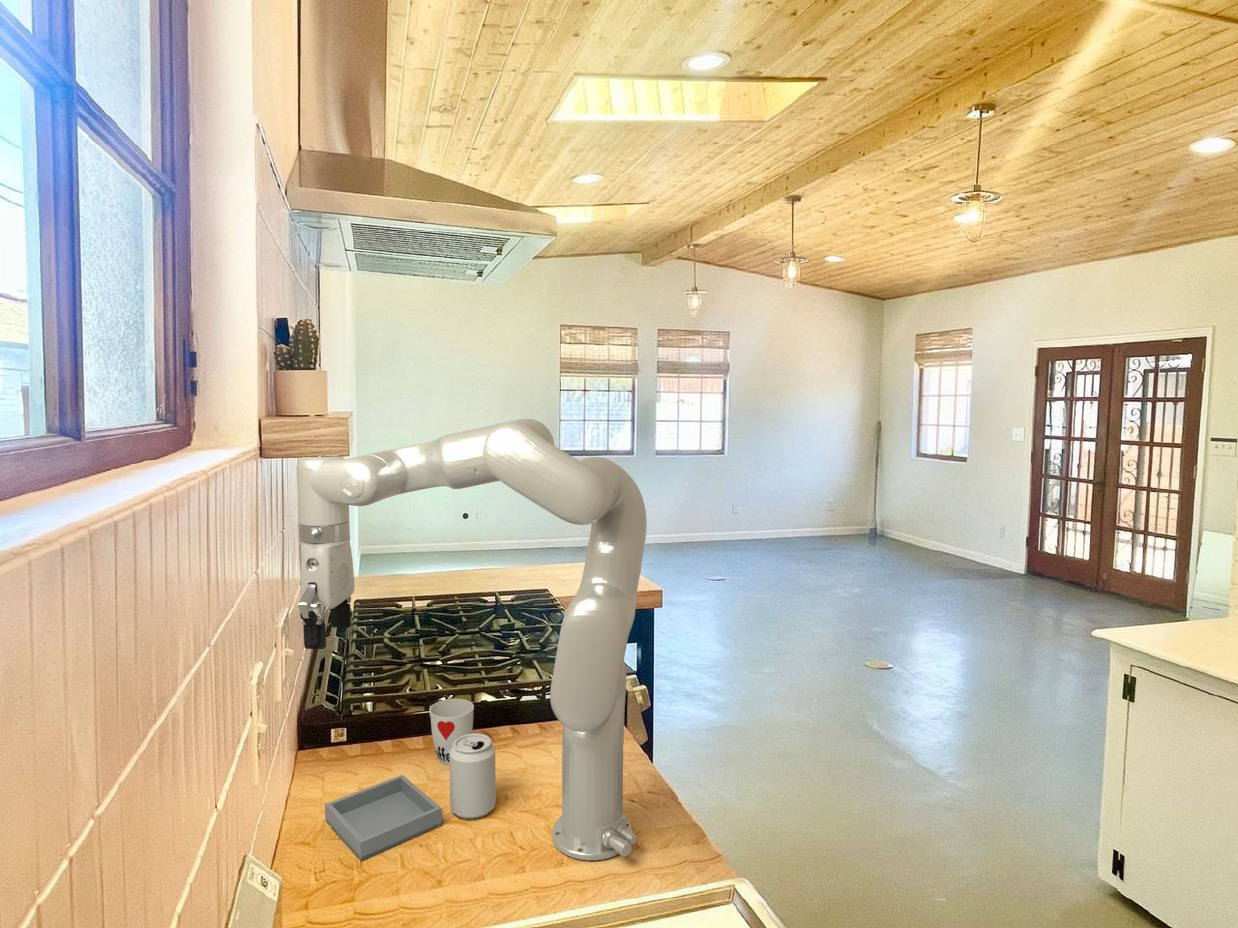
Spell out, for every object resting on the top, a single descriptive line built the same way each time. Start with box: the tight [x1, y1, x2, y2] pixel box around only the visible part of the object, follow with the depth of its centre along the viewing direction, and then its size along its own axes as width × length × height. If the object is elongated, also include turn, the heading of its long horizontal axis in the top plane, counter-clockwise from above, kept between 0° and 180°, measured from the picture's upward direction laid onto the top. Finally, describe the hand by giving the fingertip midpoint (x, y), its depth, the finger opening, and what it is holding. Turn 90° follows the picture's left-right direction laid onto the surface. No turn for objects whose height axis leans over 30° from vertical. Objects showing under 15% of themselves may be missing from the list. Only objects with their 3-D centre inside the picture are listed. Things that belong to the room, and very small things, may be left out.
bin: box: [324, 774, 443, 862], centre depth 121 cm, size 14×14×3 cm
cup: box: [429, 698, 475, 766], centre depth 142 cm, size 8×8×10 cm
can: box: [449, 733, 497, 820], centre depth 125 cm, size 8×8×12 cm
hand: (328, 637), depth 121 cm, fingers open, 9 cm apart
